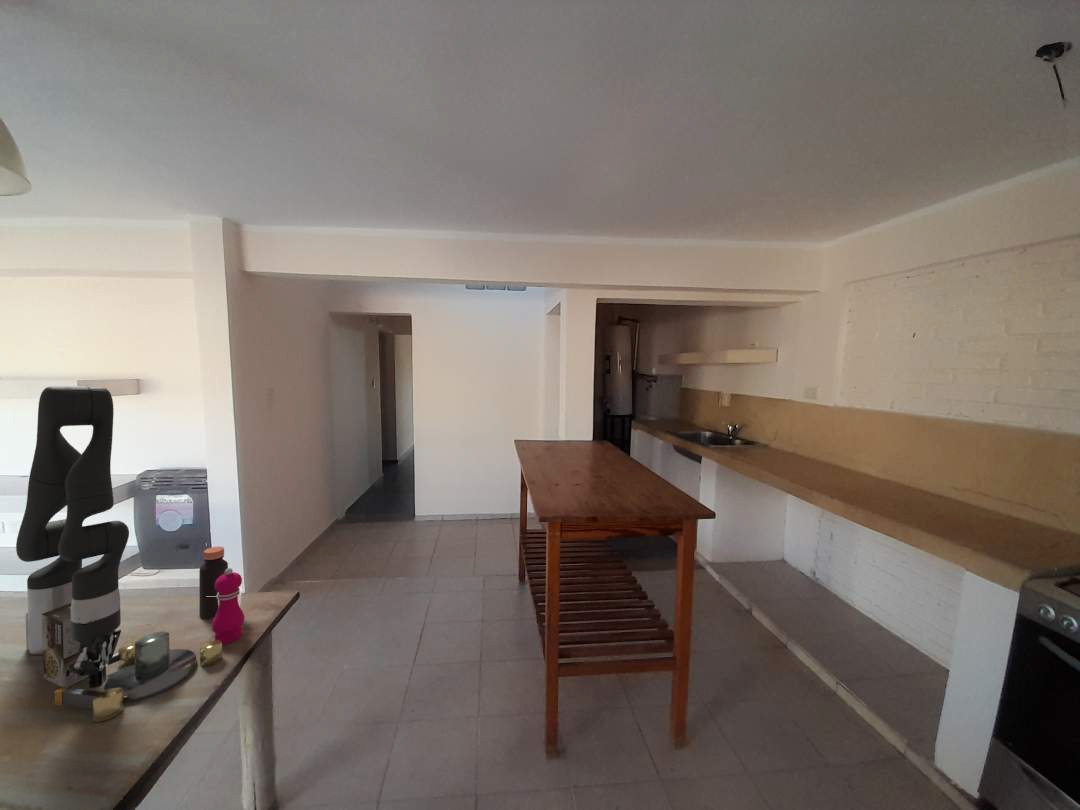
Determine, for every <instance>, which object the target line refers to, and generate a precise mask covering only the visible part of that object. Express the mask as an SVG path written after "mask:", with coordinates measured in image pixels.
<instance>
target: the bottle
mask: <svg viewBox="0 0 1080 810" xmlns="http://www.w3.org/2000/svg"><path fill="white" fill-rule="evenodd" d="M224 557H225V547H224V546H212V547H208V548H207V549H205V550H203V561H204V562H203V564H202V565H201V566H199V569H198V570H199V581H198V582H199V617H200V618H201V619H204V618H205V619H207V618H209V619H214V617H215V615H216V613H217V611H218V608H219V605H218V599H217V597H206V596H217V593H218V591H216V589H215V582H216V580H217V579H218V578H219V577H220V576H221V575H223V574H225V570H226V569H228V568H229V562H228V561H227V560H225V559H224Z"/></svg>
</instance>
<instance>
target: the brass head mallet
mask: <svg viewBox="0 0 1080 810" xmlns="http://www.w3.org/2000/svg"><path fill="white" fill-rule="evenodd" d="M54 704H55V705H57V706H70V707H71V706H73V707H78V708H85V709H86V708H88V709H92V715H93V717H92V719H93V721H94V722H98V723H99V722H103V721H107V720H109V719H112V718H114V717H116V716H117V715H119V714H120V713H121V712H122V711H123V710H124V703H123V689H122V688H120V687H117V688H112V689H108V690H106V691H104V690H103V691H96V690H88V689H82V688H74V687H72V688H71V687H70V686H68V687H64V686H63V687H61V686H60V688H58V689H56V690H54Z"/></svg>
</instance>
